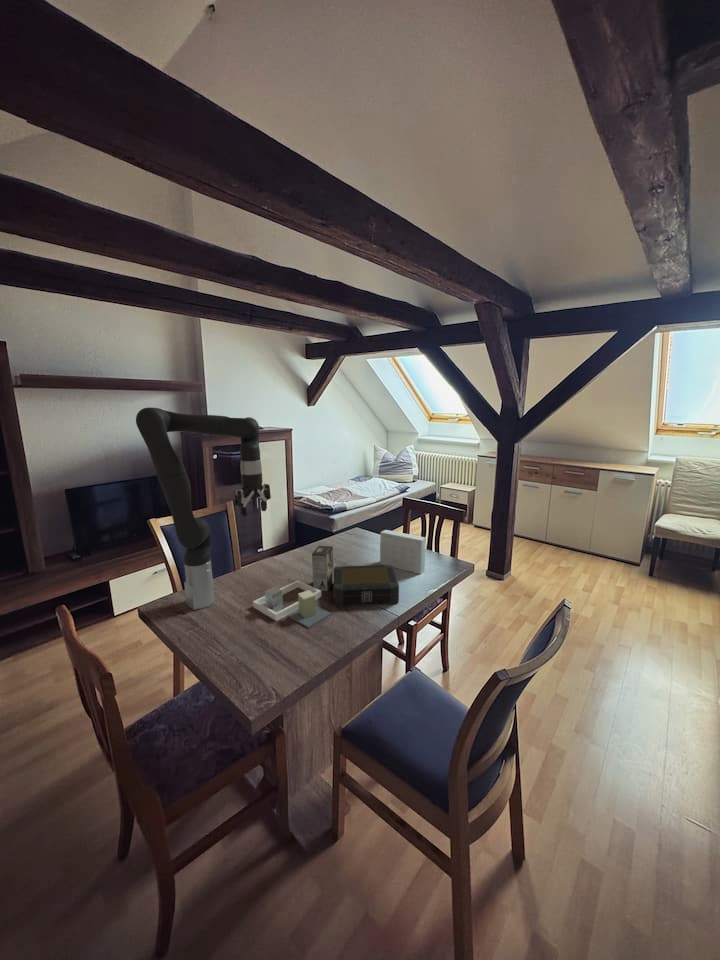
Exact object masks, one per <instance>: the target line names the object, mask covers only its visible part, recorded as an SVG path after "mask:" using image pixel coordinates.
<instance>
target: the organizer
mask: <svg viewBox="0 0 720 960" xmlns="http://www.w3.org/2000/svg"><path fill="white" fill-rule="evenodd" d="M279 589H280V590H282V596H283V595H285V594H287V593H290V592H291V591H293V590H295V589H301V590H302V591H307V590H310V591H311V592H312V593H314V594H315V601H316V600H318V599H320V598H322V590H318V589H316V588H314V587H313V586H311V585H310V584H307V583H305V582H303V581H301V580H299V579H298V580H296V581H294V582H292V583H289V584H287V585H285V586H282V587H281V588H279ZM264 604H265V605H264ZM252 605H253V606H252V607H253V608H254V609H256V610H257V611H259V612H261V613H262V614H263V615H265V616H268V618H269V619H270V618H271V619H272V620H274V621H275V622H277V621H279V620H281V619H283V618H285V617H288V615H289V614H291V613H293V612H295V611H297V610H299V600H298V601H296V602H294V603H292V604H291V605H288V606H287V607H285V608H284V607H283V609H282V610H280V611H278V612H275V611H273V610H271V609H269V608H268V607H266V602H265V595H264V596H262V597H259V598H257V599H255V600H253V601H252Z"/></svg>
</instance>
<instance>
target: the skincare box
mask: <svg viewBox="0 0 720 960" xmlns="http://www.w3.org/2000/svg"><path fill="white" fill-rule="evenodd" d="M426 538H427V537H425V536H419V535H414V534H409V533H404V532H401V531H400V532H398V531H395V530H389V529H384V530H382V531H380V538H379V539H380V542H379V565H391V566H392V567H393V569H399V570H402V571H408V572H410V573H416V574H418V575H421V574H422V573H423V572H424V571H425V569H426V568H425V567H426V566H425V565H426V563H425V562H426V544H427V543H426V541H427V540H426Z"/></svg>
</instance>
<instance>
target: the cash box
mask: <svg viewBox="0 0 720 960" xmlns="http://www.w3.org/2000/svg"><path fill="white" fill-rule="evenodd" d="M396 575H397V574H396V573H395V568H394V567H392V566H391V565H382V564H379V565H378V564H377V565H375V564H374V565H345V566H341V565H340V566H335V567H333V579H334V581H333V604H334V606H335V607H336V606H338V607H345V606H346V607H349V606H351V607H352V606H371V605H373V606H374V605H376V606H377V605H378V606H379V605H396V604H398V603H399V601H400V585H399V581H398V579H397V576H396Z"/></svg>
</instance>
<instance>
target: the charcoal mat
mask: <svg viewBox="0 0 720 960" xmlns="http://www.w3.org/2000/svg"><path fill="white" fill-rule="evenodd" d="M315 606H316V614H315V615H312V616H309V617H307V618H304V617H303V616H302V615H301V614H300V613H299V609H298V610H296V611H294V612H292V613H291V614H289V615H287V617H288V618H289V619H292V620H293V621H294V622H296V623H298V624H300V625H302V626H304V627H305V628H306V629H311V628H312V627H314V626H315V625H317V624H318V623H320V622H321V621H324V620H325V619H326V618H328V617H330V616H332V612H330V611H328V610H326V609H324V608H322V607H320V606H318V605H317V604H315Z"/></svg>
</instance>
